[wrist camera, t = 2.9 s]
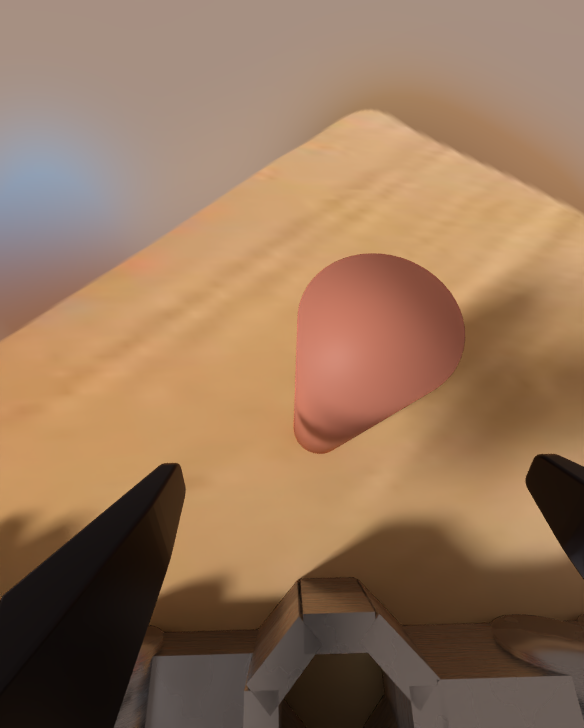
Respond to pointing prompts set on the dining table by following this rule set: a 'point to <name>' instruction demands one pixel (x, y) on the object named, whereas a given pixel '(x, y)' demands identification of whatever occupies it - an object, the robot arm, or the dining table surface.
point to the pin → (370, 346)
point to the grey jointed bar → (384, 644)
